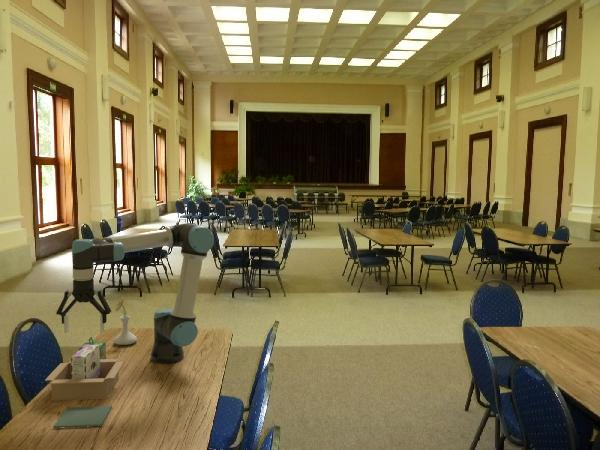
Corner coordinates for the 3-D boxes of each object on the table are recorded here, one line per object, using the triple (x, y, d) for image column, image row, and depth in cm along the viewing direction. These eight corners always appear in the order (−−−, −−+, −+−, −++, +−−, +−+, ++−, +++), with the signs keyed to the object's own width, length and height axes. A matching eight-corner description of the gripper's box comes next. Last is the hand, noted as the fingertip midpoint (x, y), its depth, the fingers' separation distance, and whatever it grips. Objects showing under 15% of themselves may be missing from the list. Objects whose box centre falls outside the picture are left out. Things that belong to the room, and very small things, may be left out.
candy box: (87, 382, 211) (86, 343, 209) (101, 382, 211) (100, 344, 209) (71, 397, 197) (70, 356, 195) (86, 397, 197) (85, 356, 195)
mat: (112, 407, 189) (112, 405, 189) (101, 426, 175) (101, 424, 175) (67, 409, 187) (67, 407, 187) (53, 428, 173) (53, 426, 173)
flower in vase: (116, 339, 263) (115, 292, 261) (139, 339, 265) (138, 292, 262) (110, 348, 251) (109, 299, 248) (134, 347, 252) (133, 298, 249)
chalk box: (101, 374, 219) (100, 341, 218) (79, 374, 218) (78, 341, 217) (107, 366, 228) (106, 334, 227) (85, 366, 227) (84, 334, 226)
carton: (126, 376, 217) (125, 358, 216) (112, 401, 194) (111, 381, 193) (64, 378, 214) (63, 360, 213) (42, 403, 191) (41, 383, 190)
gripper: (118, 276, 204) (119, 327, 206) (53, 276, 201) (55, 328, 204) (113, 280, 197) (114, 333, 199) (46, 280, 194) (48, 334, 196)
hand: (84, 331), depth 201 cm, fingers open, 13 cm apart
